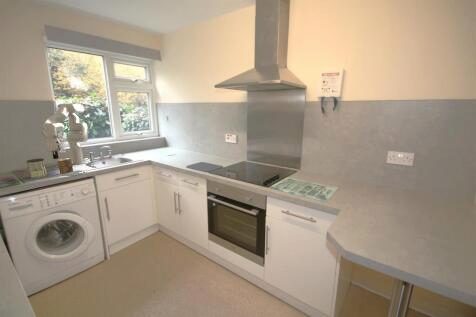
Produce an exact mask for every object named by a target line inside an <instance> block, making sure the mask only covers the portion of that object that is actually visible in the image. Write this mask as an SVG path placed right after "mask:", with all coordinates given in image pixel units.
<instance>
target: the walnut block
mask: <svg viewBox="0 0 476 317" xmlns="http://www.w3.org/2000/svg"><path fill="white" fill-rule="evenodd" d="M56 160H57V165H58V170H59V174H61V175H62V174H65V173H69V172H73V171H74V168H73V165H72V157H69V158H68V157H66V158H62V159H56Z"/></svg>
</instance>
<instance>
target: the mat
mask: <svg viewBox="0 0 476 317" xmlns="http://www.w3.org/2000/svg"><path fill="white" fill-rule="evenodd" d="M82 171H83V170H82V169H81V170H80V169H79V170H73V172H69V173H65V174H61V176H69V175H70V176H71V177H72V176H73V177H74V176H78V175H82V174H85V172H83V173H79V172H82ZM70 176H69V177H70Z"/></svg>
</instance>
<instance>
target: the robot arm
mask: <svg viewBox="0 0 476 317" xmlns="http://www.w3.org/2000/svg"><path fill="white" fill-rule="evenodd" d="M84 112H85V107H84V106H83V105H82V104H78V103H62V104H60V105H59V106H58V109H57V110H56V113H54V114H52V115H51V116H49V117H48V118H46V119H45V121H44V124H43V125H42V126H43V130H44V133H45V138H46V146H47V150H48V151H49V153H50V154H52V158H53V160H59V153H61V151H62V146H61V142H60V140H59V138H58V132H62V131H64V130H65V125H64V124H63V123H61V122H63V121H65V120H67V118H68V130H69V132H70V133H68V134H67V135H66V140H67V143H68V147H69V150H70V156H71V157H70V158H71V161H72V166H75V165H76V166H78V165H83V164H84V165H85V164H86V163H87V162H86V161H88V160H89V158H88V157H86V158H84V154H83V150H82V146H81V144H80V143H86V142H87V141H88V139H89V127H88V125H87V123H86V122H80V117H79V116H78V115H77V114H84Z"/></svg>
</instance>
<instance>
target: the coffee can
mask: <svg viewBox="0 0 476 317" xmlns="http://www.w3.org/2000/svg"><path fill="white" fill-rule="evenodd" d="M26 163H27V166H28V167H27V168H28V171H29V176H30V179H38V178H43V177H46V176H48V174H47V169H46V165H45V159H44V158H33V159H28V160H26Z"/></svg>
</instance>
